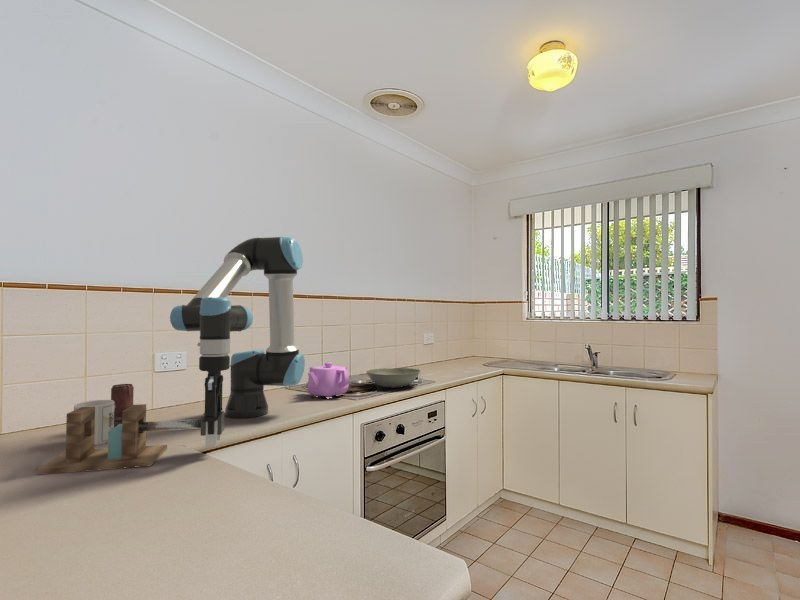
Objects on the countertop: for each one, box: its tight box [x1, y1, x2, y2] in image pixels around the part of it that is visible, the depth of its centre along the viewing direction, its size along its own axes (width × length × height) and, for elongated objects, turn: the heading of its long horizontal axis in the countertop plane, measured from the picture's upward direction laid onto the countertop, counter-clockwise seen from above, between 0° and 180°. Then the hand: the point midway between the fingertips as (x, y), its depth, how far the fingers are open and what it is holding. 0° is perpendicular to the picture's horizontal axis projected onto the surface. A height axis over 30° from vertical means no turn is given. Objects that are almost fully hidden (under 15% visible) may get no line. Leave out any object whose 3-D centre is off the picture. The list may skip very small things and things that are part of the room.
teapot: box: [307, 361, 350, 398], centre depth 199 cm, size 19×18×15 cm
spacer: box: [107, 424, 122, 460], centre depth 113 cm, size 3×7×7 cm, turn 14°
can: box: [110, 383, 135, 427], centre depth 143 cm, size 6×6×14 cm
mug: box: [73, 399, 115, 446], centre depth 128 cm, size 10×12×11 cm
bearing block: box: [36, 403, 168, 475], centre depth 112 cm, size 24×14×13 cm, turn 104°
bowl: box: [365, 367, 421, 388], centre depth 225 cm, size 27×28×8 cm
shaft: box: [138, 410, 225, 437], centre depth 116 cm, size 21×5×5 cm, turn 104°
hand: (213, 442), depth 118 cm, fingers closed on shaft, 5 cm apart
